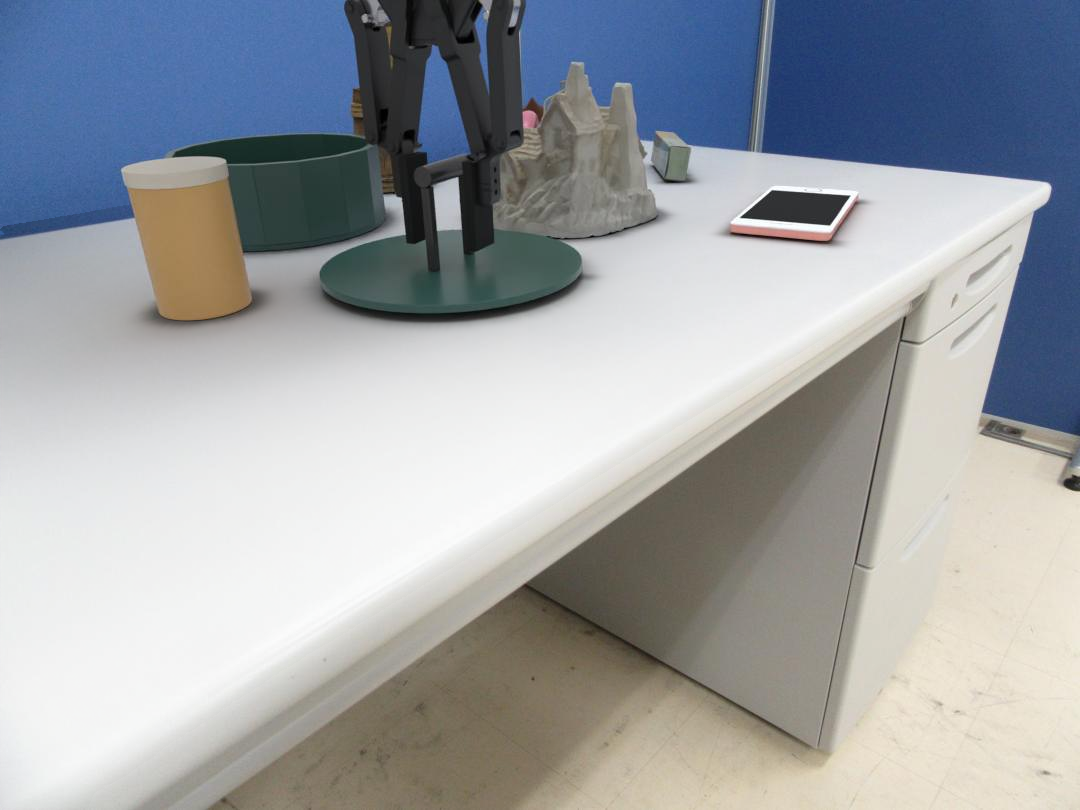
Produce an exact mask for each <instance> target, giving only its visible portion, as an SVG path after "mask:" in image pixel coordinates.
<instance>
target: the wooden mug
mask: <svg viewBox="0 0 1080 810" xmlns="http://www.w3.org/2000/svg"><path fill="white" fill-rule="evenodd" d="M385 26H386V30H387V34H388V41H389V51H390V39H391V28H392V23H391V21H390V20H388V21H387V22H386V23H385ZM390 62H391V73H392V65H393V57H392V56H391V55H390ZM350 116H351V117H352V124H353V134H355V135H360V136H365V132H364V123H363V114H362V105H361V96H360V87H354V88H352V100H350ZM378 151H379V160H380V169H381V178H382V187H383V194H384V193H385V194H386V193H395V192H394V186H393V183H394V182H393V176H392V167H391V158H390V155H389V153H388V152H387V151H386V150H385V149H384V148H382V147H380V146H378ZM415 152H419V149H416V150H414V153H415Z"/></svg>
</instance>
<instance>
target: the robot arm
mask: <svg viewBox="0 0 1080 810" xmlns="http://www.w3.org/2000/svg"><path fill="white" fill-rule="evenodd" d="M526 8H527V0H345V2H344V4H343V10H344V13H345V16H346V19H347V22H348V25H349V27H350V29H351V33H352V36H353V42H354V49H355V59H356V67H357V68H356V69H357V76H358V86H359V87H358V88H360V96H361V105H362V114H363V123H364V132H365V138H366V141H367V143H369V144H370V145H378V146H380V147H382V148H384V149H385V150H386V151H387V152H388V153H389V155H390V158H391V167H392V176H393V182H394V183H393V186H394V192H393V193H394V194H395V196H396V198H401V204H402V211H403V214H402V215H403V222H404V235H406V243H408V244H416V243H419V242H421V241H423V240H426V239H425V228H424V217H423V207H422V196H421V187H420V186H418V185H417V184H416V182H415V180H414V172H415V170H416V168H418V167H420V166H424V165H427V164H429V161H428V153H427V151H418V152H415V153H414V150H416V149H418V150H419V149H421V148H422V147H423V144H424V143H422V142H420V141H419V133H420V131H419V130H420V123H421V115H422V105H423V96H424V88H425V79H426V68H427V62H428V60H429V58H430V57H431V55H432V51H433V46H435V47H437V48H438V52H439V55H440V58H441V59H442V60H443V61H444V62H445V64H446V66H447V70H448V73H449V76H450V81H451V85H452V89H453V93H454V96H455V100H456V103H457V108H458V110H459V111H458V112H459V114H460V118H461V121H462V125H463V129H464V133H465V136H466V137H465V138H466V140H467V144H468V148H469V155H466V158H467V160H465V161H462V172H463V187H464V201H465V216H466V231H467V246H468V251H474V252H477V251H479V250H481V249H483V248H485V247H487V246H489V245H491V244H493V243H495V242H494V230H495V229H494V223H493V204H494V203H497V202H499V200H500V197H501V182H500V157H501V156H502V154H503V153H505V152H507V151H510V150H513V149H515V148H518V147H520V146H522V144H523V141H524V133H523V109H522V108H523V87H522V64H521V61H522V60H521V43H520V42H521V39H520V38H521V37H520V32H521V29H522V24H523V20H524V15H525V11H526ZM482 9H483V13H482V18H483V20H484V21H485V22H486V24H487V25H486V34H485V40H486V41H485V43H486V45H485V46H486V61H487V78H488V79H487V80H488V84H487V81H486V78H485V74H484V70H483V66H482V62H481V59H480V54H481V53H482V47H481V43H480V40H479V35H478V32H477V27H476V24H475V23H476V22H477V19H478V18H479V15H480V14H481V12H482ZM389 21H391V23H392V28H391V39H390V51H389V41H388V34H387V30H386V26H385V23H387V22H389ZM390 55H391V56H392V57H393V65H392V73H391V62H390ZM487 85H488V86H487Z"/></svg>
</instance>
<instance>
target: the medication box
mask: <svg viewBox="0 0 1080 810" xmlns="http://www.w3.org/2000/svg"><path fill="white" fill-rule="evenodd" d="M652 143H653V144H652V149H651V150H652V151H651V157H650V162H651V163H652V164H653V166H654V167H655V168H656V170H657V171H658V173H659V174H660V176H661V177H662V178H663V179H664V180H663V181H665V182H666V181H668V182H675V183H685V182H686V179H687V173H688V169H689V162H690V158H691V153H692V148H691V146H690V145H688V144H687V143H686V142H685V141H684V140H683V139H682V138H680V137H679V136H678V134H676V133H675V132H673V131H663V130H662V131H661V130H655V132H654V136H653V142H652Z"/></svg>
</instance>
